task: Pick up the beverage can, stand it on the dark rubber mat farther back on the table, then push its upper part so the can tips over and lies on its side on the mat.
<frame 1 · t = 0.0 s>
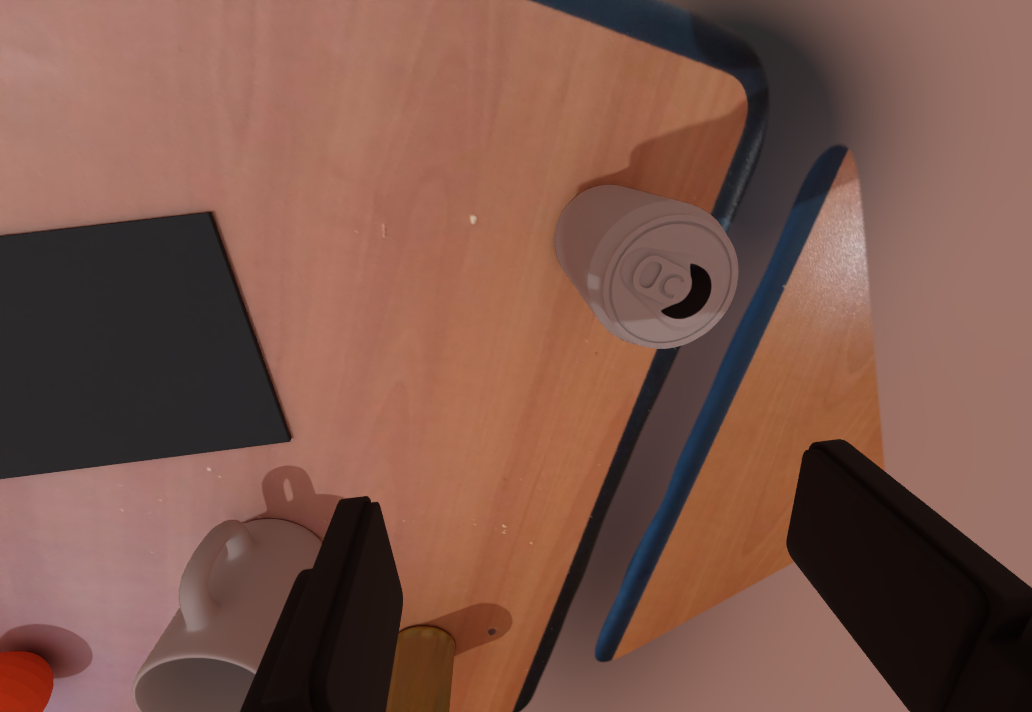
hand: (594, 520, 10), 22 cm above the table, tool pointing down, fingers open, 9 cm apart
vase: (423, 644, 45), on the table
mat: (70, 359, 31), on the table
mug: (271, 539, 38), on the table
beverage can: (600, 235, 30), on the table
clementine: (27, 658, 41), on the table
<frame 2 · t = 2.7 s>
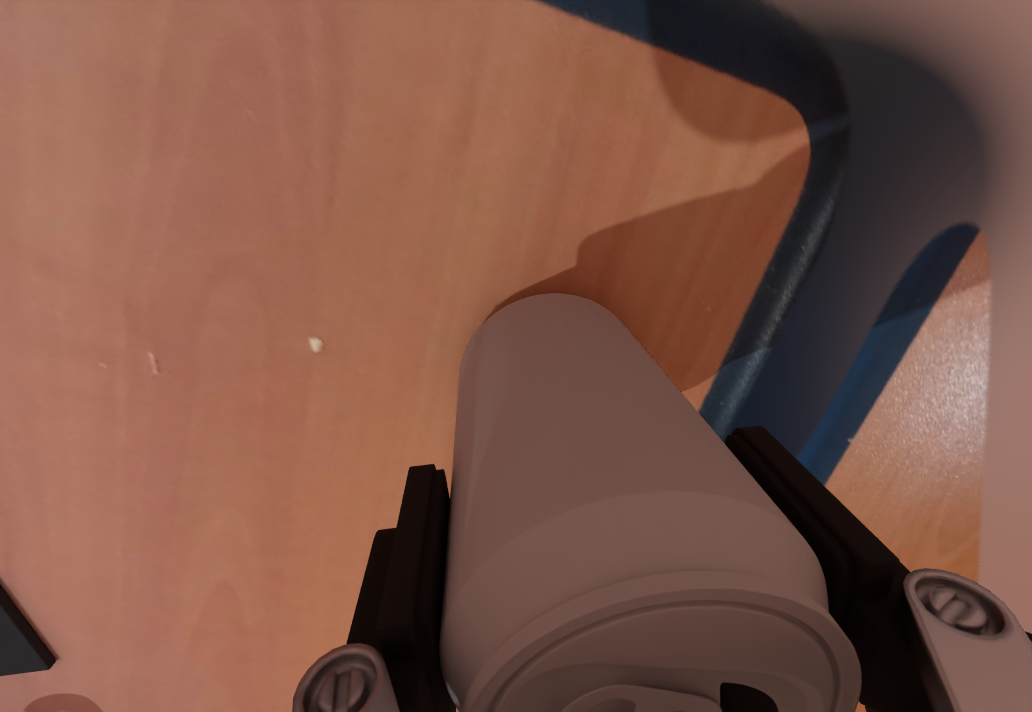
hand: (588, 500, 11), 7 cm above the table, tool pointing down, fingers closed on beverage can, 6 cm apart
beverage can: (545, 367, 18), on the table, touching gripper
when the fingers open (7 cm above the table, at t = 10.4 s): beverage can stays where it is, resting on mat.
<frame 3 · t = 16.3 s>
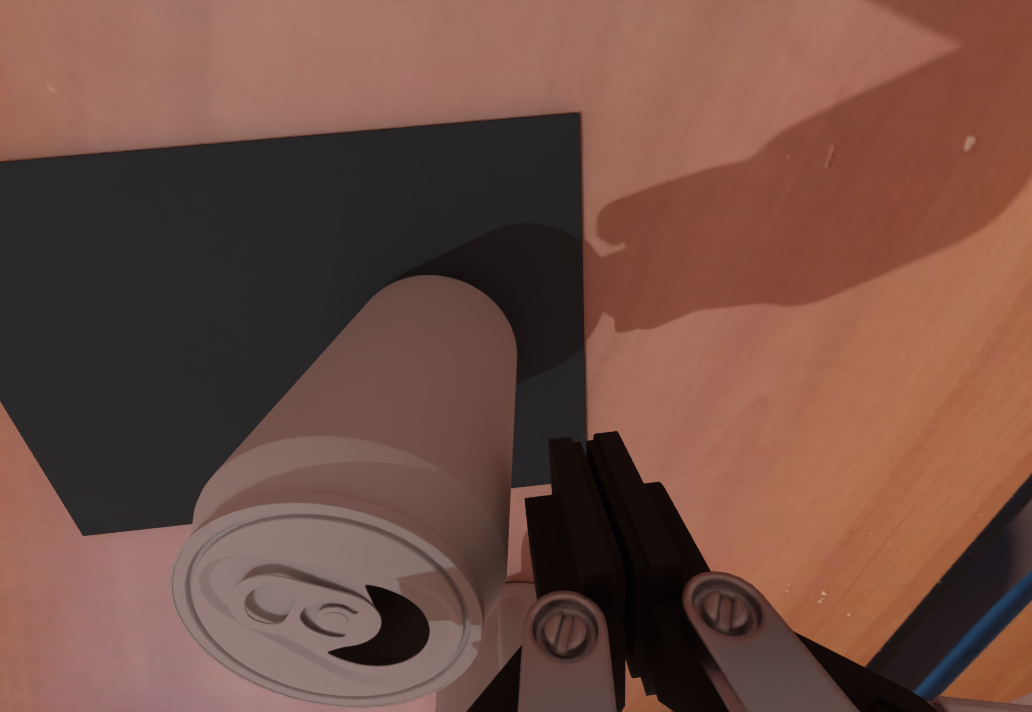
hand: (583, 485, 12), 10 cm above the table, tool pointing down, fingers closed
mat: (297, 352, 20), on the table
mug: (511, 608, 27), on the table
beverage can: (439, 342, 19), point 1 cm above the table, touching gripper, mat
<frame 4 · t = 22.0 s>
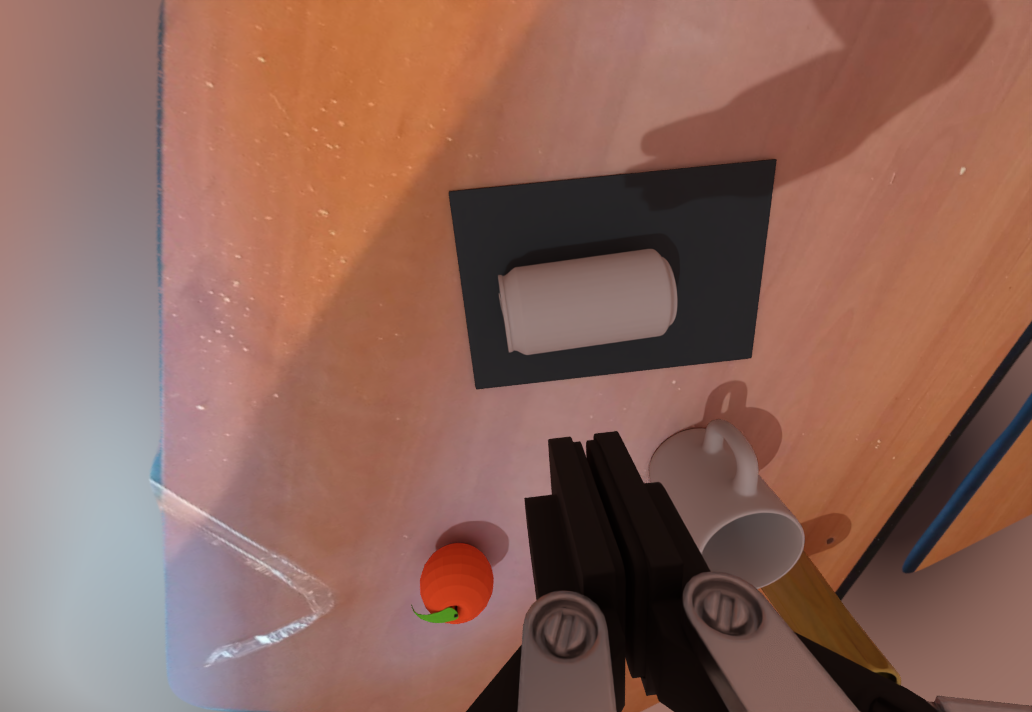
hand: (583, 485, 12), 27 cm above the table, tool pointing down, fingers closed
vase: (769, 551, 52), on the table
mat: (613, 281, 38), on the table
mug: (692, 448, 45), on the table
beverage can: (666, 290, 35), point 4 cm above the table, touching mat
clementine: (453, 553, 48), on the table
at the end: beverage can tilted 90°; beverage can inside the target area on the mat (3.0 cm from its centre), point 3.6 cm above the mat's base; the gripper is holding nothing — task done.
